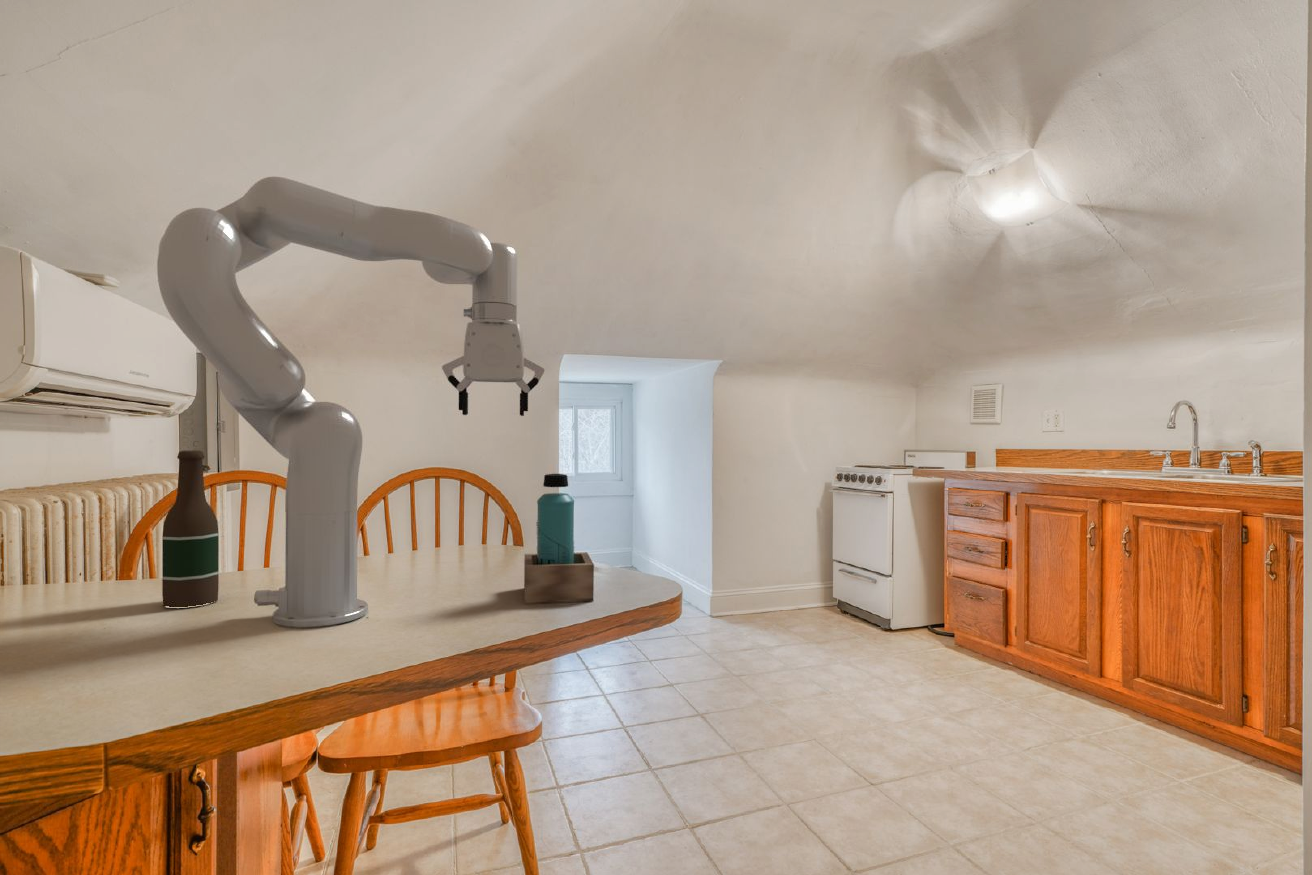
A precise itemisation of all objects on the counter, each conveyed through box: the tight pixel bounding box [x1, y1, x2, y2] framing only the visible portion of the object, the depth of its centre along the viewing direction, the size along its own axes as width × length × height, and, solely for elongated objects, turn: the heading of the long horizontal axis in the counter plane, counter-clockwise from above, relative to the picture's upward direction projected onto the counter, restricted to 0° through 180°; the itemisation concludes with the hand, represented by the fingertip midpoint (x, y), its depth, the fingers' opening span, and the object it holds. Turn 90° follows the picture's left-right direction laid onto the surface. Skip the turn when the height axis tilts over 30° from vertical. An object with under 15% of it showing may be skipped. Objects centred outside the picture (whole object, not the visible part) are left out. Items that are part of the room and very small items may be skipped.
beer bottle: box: [161, 449, 220, 607], centre depth 106 cm, size 8×8×24 cm
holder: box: [523, 551, 595, 605], centre depth 115 cm, size 11×11×6 cm
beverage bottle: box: [535, 473, 576, 565], centre depth 115 cm, size 6×7×20 cm
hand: (493, 415), depth 118 cm, fingers open, 9 cm apart
